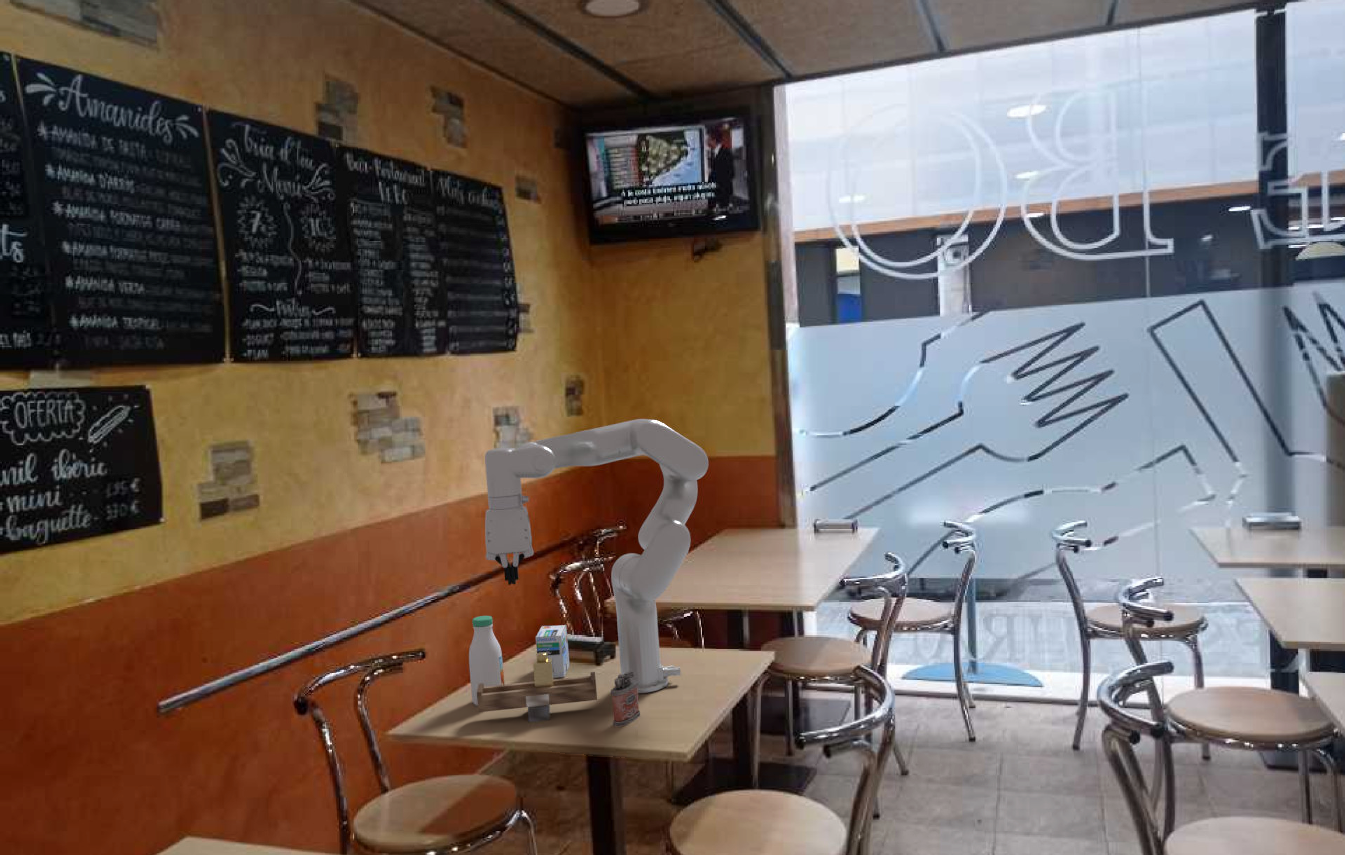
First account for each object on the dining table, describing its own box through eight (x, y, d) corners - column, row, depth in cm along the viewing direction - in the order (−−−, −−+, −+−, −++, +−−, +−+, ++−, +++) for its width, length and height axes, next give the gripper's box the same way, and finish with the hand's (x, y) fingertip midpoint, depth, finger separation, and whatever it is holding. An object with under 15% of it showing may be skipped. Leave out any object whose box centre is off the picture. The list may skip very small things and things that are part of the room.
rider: (553, 686, 224) (550, 651, 224) (553, 690, 221) (550, 654, 221) (535, 688, 224) (532, 653, 223) (535, 692, 221) (532, 656, 220)
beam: (597, 702, 228) (594, 670, 227) (598, 714, 220) (595, 681, 220) (482, 714, 225) (479, 682, 225) (479, 727, 217) (476, 693, 217)
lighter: (622, 727, 211) (619, 681, 211) (609, 725, 213) (606, 679, 213) (643, 714, 218) (640, 669, 218) (630, 712, 220) (627, 668, 219)
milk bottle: (498, 707, 230) (491, 621, 228) (467, 707, 231) (460, 622, 230) (510, 695, 237) (503, 613, 236) (480, 695, 239) (473, 613, 238)
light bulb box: (565, 677, 248) (561, 635, 248) (538, 679, 248) (534, 637, 248) (570, 664, 259) (566, 624, 258) (544, 666, 259) (541, 625, 258)
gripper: (539, 498, 229) (545, 577, 230) (473, 503, 227) (480, 583, 228) (538, 502, 221) (545, 584, 222) (470, 508, 220) (477, 590, 221)
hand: (512, 583), depth 225 cm, fingers closed
